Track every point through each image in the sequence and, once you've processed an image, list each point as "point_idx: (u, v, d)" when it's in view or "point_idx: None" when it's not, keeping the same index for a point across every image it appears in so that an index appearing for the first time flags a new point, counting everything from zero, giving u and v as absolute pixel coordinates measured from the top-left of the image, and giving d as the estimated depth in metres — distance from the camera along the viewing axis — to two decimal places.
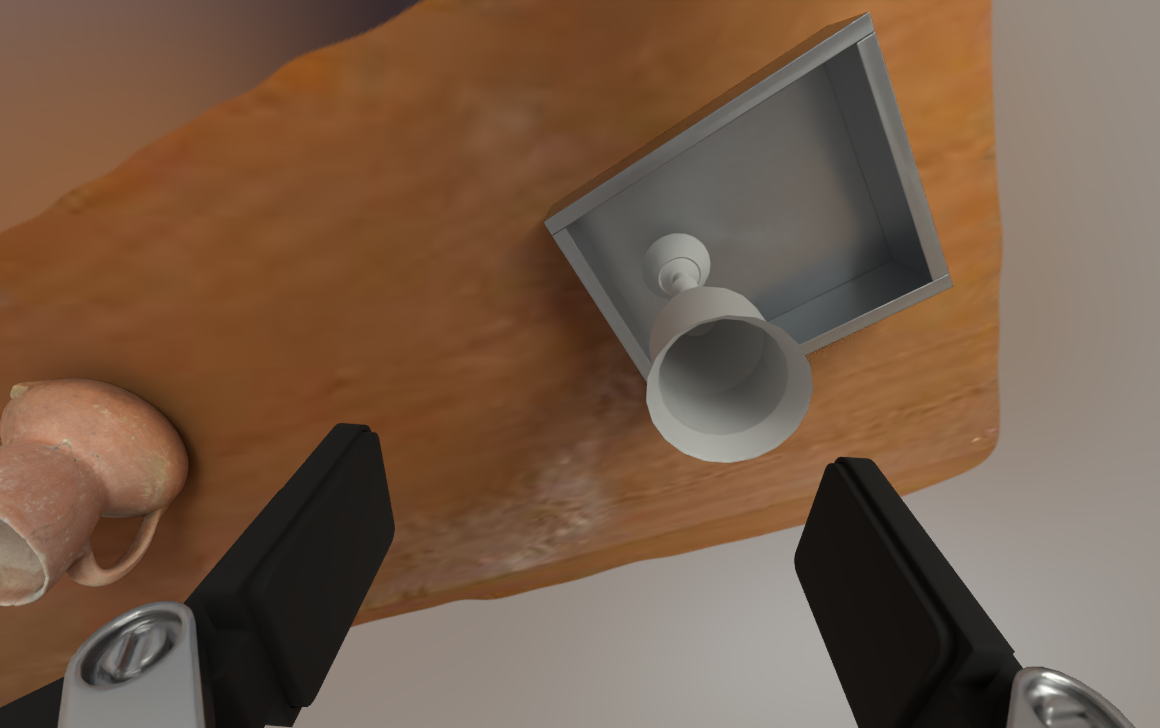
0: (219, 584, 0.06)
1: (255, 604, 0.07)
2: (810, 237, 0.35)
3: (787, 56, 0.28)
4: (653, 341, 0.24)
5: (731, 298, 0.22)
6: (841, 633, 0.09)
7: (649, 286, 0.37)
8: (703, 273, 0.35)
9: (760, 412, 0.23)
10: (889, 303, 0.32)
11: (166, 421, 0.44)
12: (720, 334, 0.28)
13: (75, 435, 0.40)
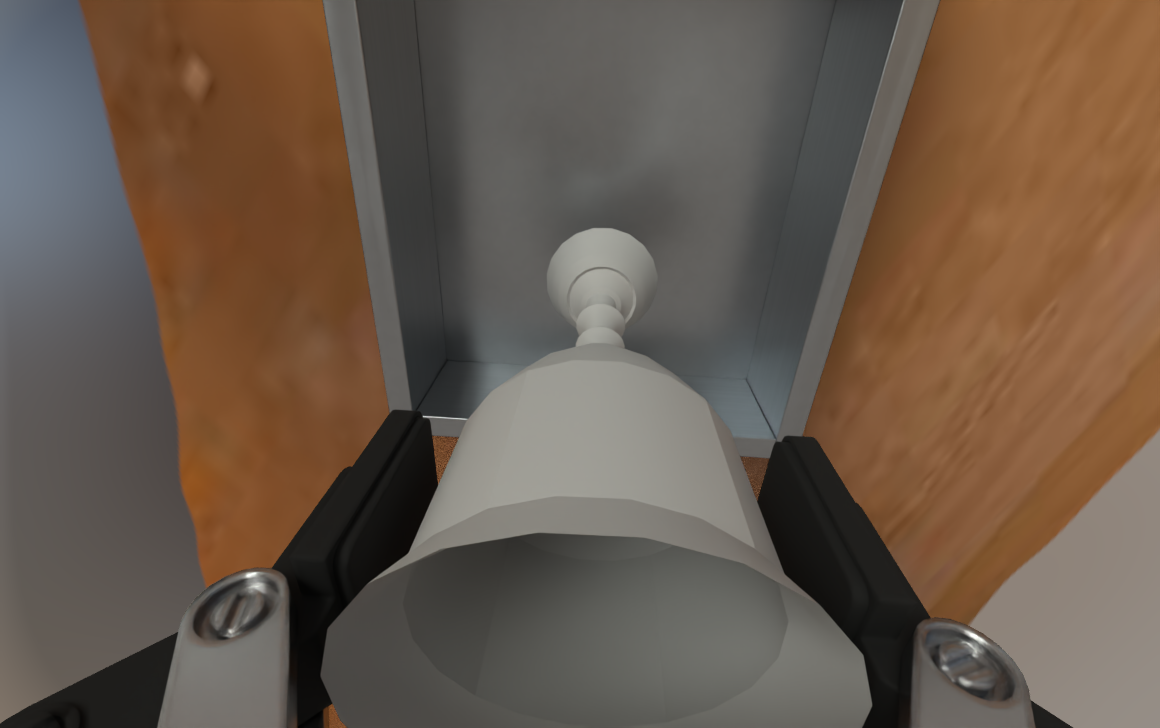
0: (308, 552, 0.07)
1: (339, 572, 0.07)
2: (697, 52, 0.18)
3: None
4: None
5: (474, 432, 0.09)
6: None
7: None
8: (621, 264, 0.20)
9: None
10: None
11: None
12: None
13: None
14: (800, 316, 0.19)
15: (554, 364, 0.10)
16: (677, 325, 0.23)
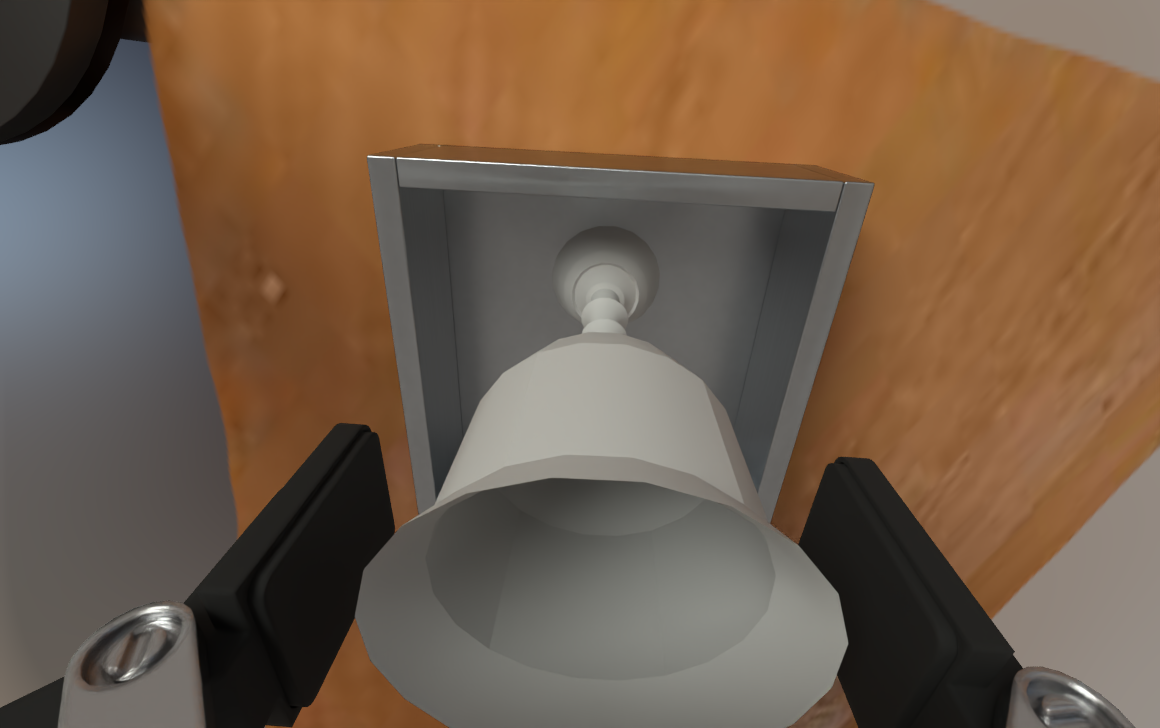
0: (219, 584, 0.06)
1: (255, 604, 0.07)
2: (669, 281, 0.23)
3: None
4: None
5: (489, 407, 0.10)
6: None
7: None
8: (624, 260, 0.21)
9: (763, 539, 0.09)
10: (817, 288, 0.18)
11: None
12: None
13: None
14: None
15: (562, 346, 0.11)
16: None
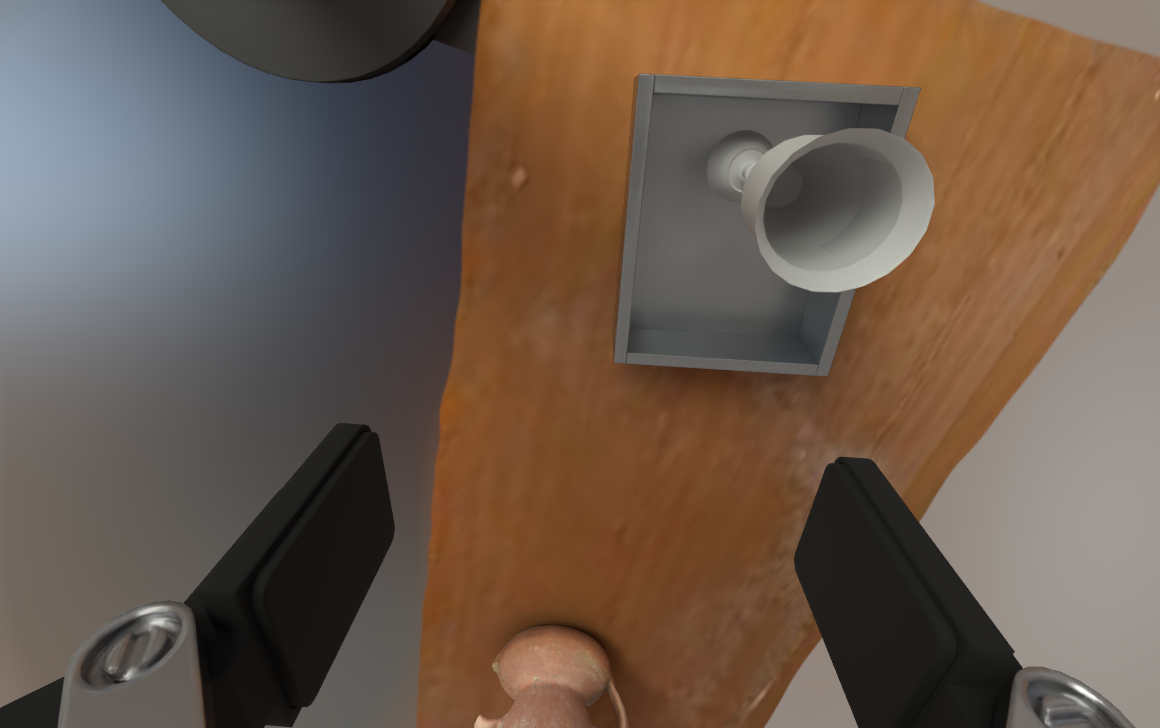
0: (219, 584, 0.06)
1: (255, 604, 0.07)
2: None
3: (631, 130, 0.34)
4: None
5: (774, 154, 0.23)
6: (841, 633, 0.09)
7: (738, 200, 0.38)
8: (762, 147, 0.34)
9: (895, 194, 0.22)
10: None
11: (565, 628, 0.61)
12: (812, 175, 0.28)
13: (536, 671, 0.58)
14: (832, 299, 0.37)
15: (796, 137, 0.24)
16: (760, 306, 0.42)
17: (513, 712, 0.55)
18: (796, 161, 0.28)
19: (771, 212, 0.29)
